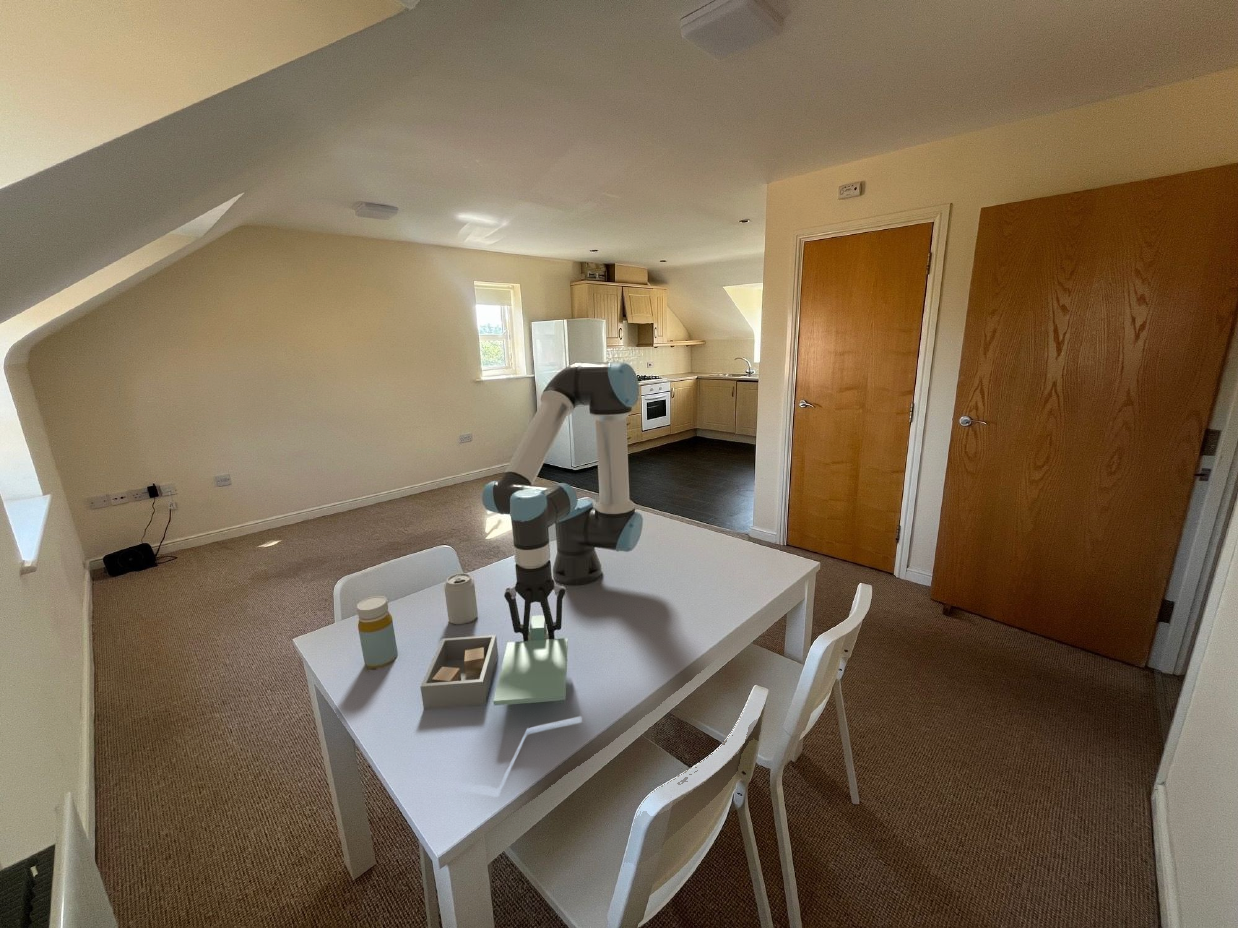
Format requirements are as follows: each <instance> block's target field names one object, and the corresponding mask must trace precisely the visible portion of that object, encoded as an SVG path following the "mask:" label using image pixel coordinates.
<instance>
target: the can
mask: <svg viewBox="0 0 1238 928" xmlns="http://www.w3.org/2000/svg"><path fill="white" fill-rule="evenodd" d="M443 588H444V595H445V596H444V597H445V603H446V612H447V619H448V622H450V623H451V624H454V625H455V626H462V625H469V624H470V623H471V622H473V621H474V620H476V618H477V616H478V614H479V613H478V611H479V610H478V604H477V594H476V586H475V580H474V579H473V578H472V576H471V574H470V573H467V572H459V573H455V574H452V575H450V576H449V577H447V578H446V580H445V584H444V587H443Z"/></svg>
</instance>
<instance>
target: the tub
mask: <svg viewBox="0 0 1238 928" xmlns="http://www.w3.org/2000/svg"><path fill="white" fill-rule="evenodd" d="M483 647H484V653H485V662H484V665H483V669H482V672H481V675H478V676H472V677H467V678H466V671H465V663H464V659H465V650H471V649H477V648H483ZM498 649H499V648H498V641H497V634H489V635H477V636H476V635H474V636H473V635H472V636H463V637H462V636H461V637H460V636H459V637H447V638H441V641H440V643H439V645H438V648H437V649H436V652H435V654H434V656H433V659H432V660H431V663H430V664H429V667H428V669H427V671H426V673H425V676H424V678H423V680H422V681H421V685H420V686H419V687H420V693H421V701H422V708H423V710H431V709H443V708H454V707H456V708H457V707H469V706H480V705H486V703H487V701H488V699H487V698H488V694H489V691H490V688H491V683H492V679H493V676H494V672H495V668H496V665H497V661H498V657H499V650H498ZM442 667H451V668H460V674H461V681H451V682H438V683H432V679H433V677H434V676H435V675H436V674H437V672H438V671H439V670H440V669H441V668H442Z"/></svg>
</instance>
